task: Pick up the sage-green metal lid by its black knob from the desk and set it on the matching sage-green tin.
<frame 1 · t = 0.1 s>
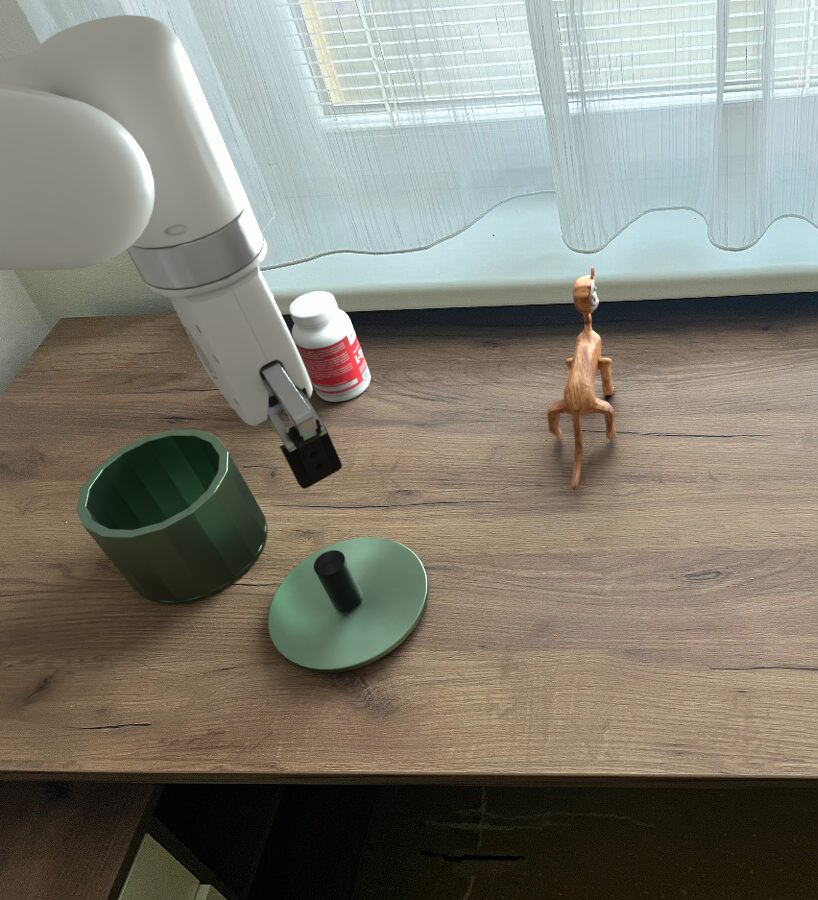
hand: (293, 442, 65), 17 cm above the table, tool pointing down, fingers open, 9 cm apart
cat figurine: (587, 433, 88), on the table
pill bottle: (345, 387, 97), on the table
tin lid: (350, 602, 75), point 1 cm above the table
tin: (200, 549, 82), on the table
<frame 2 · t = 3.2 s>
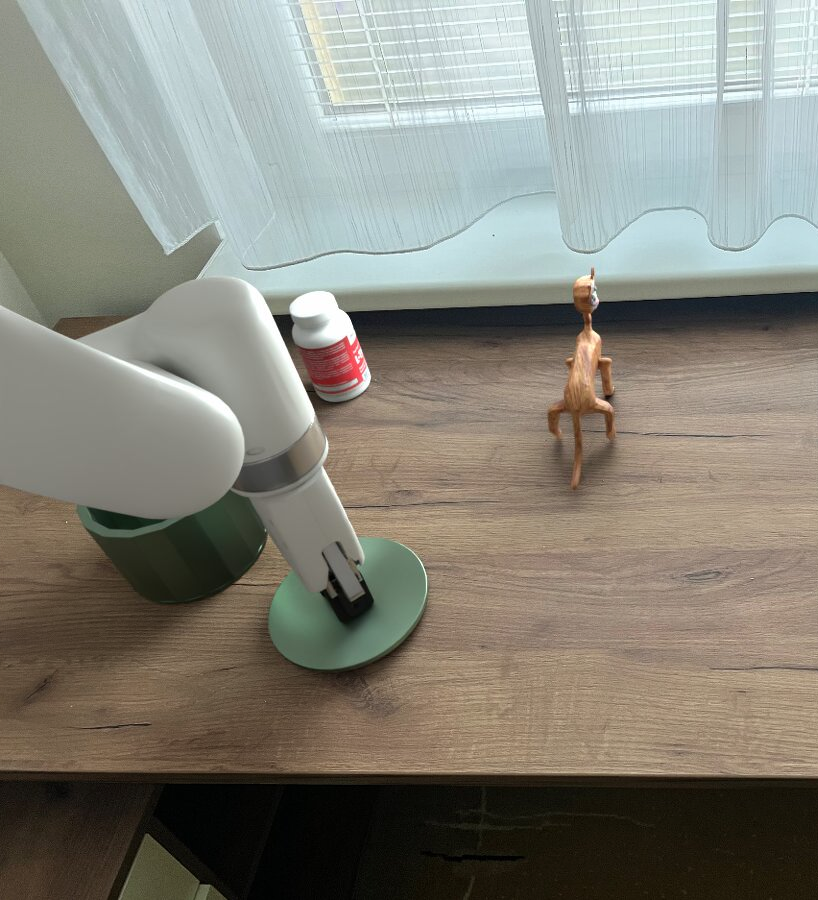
hand: (347, 597, 74), 1 cm above the table, tool pointing down, fingers closed on tin lid, 2 cm apart
tin lid: (350, 602, 75), point 1 cm above the table, touching gripper
everything else where it was.
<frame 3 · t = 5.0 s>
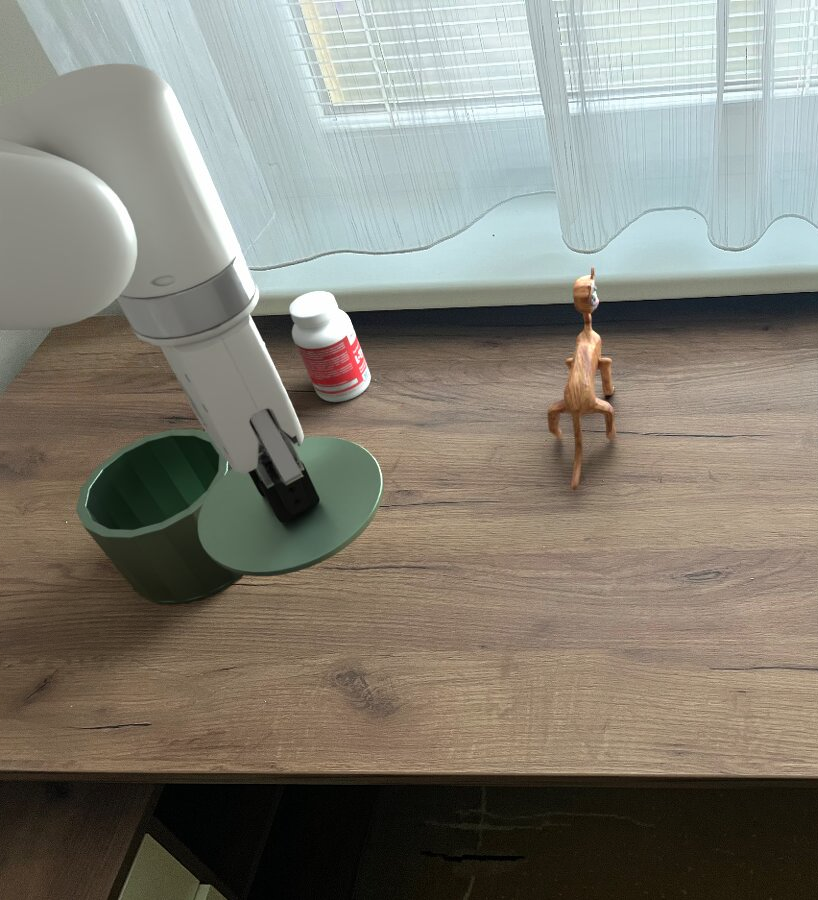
hand: (289, 496, 65), 15 cm above the table, tool pointing down, fingers closed on tin lid, 2 cm apart
tin lid: (293, 504, 65), point 14 cm above the table, touching gripper
everything else where it was.
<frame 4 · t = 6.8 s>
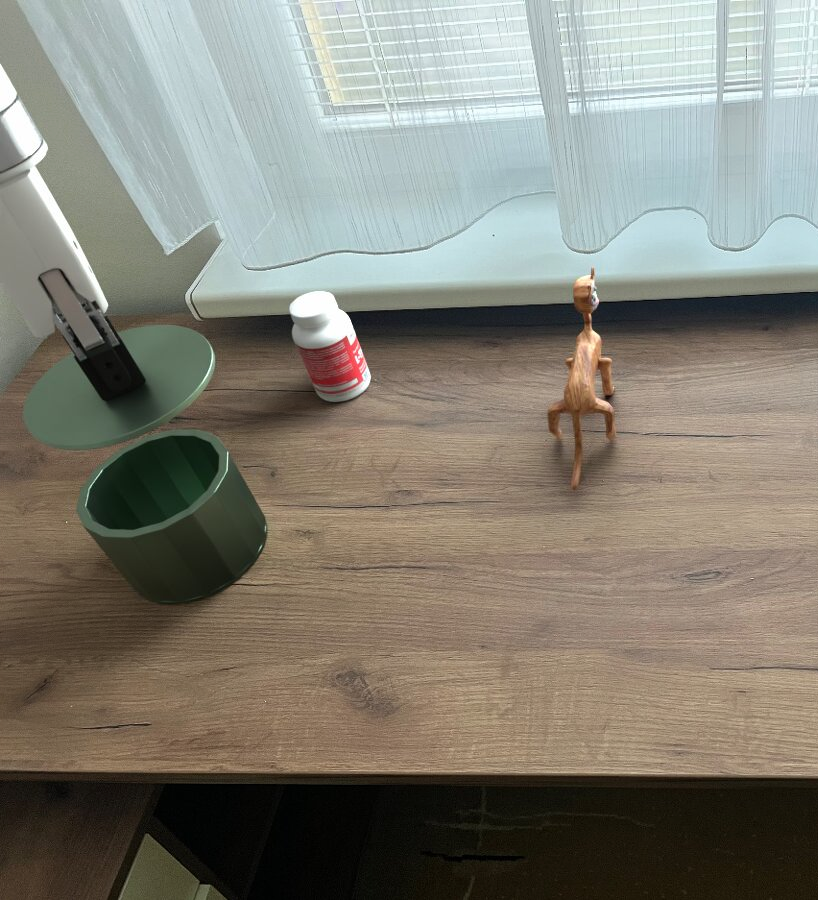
hand: (117, 378, 65), 22 cm above the table, tool pointing down, fingers closed on tin lid, 2 cm apart
tin lid: (123, 386, 65), point 21 cm above the table, touching gripper
everything else where it was.
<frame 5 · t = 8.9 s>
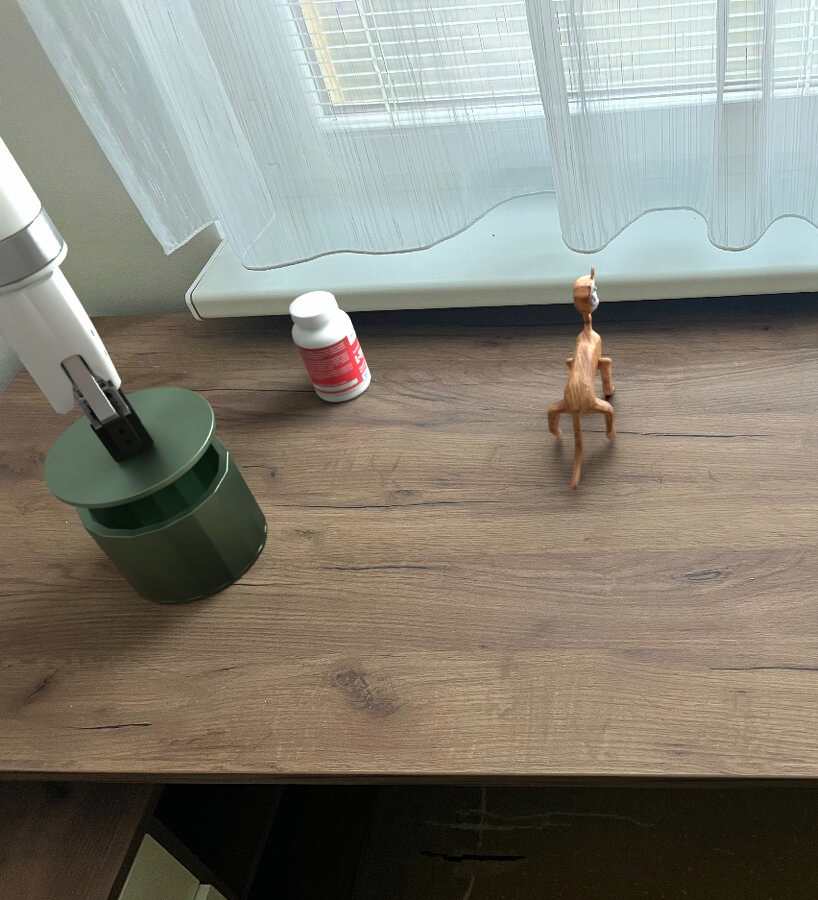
hand: (128, 440, 72), 14 cm above the table, tool pointing down, fingers closed on tin lid, 2 cm apart
tin lid: (133, 446, 72), point 13 cm above the table, touching gripper
everything else where it was.
when the fingers open (10 cm above the table, at t = 10.2 s): tin lid stays where it is, resting on tin.
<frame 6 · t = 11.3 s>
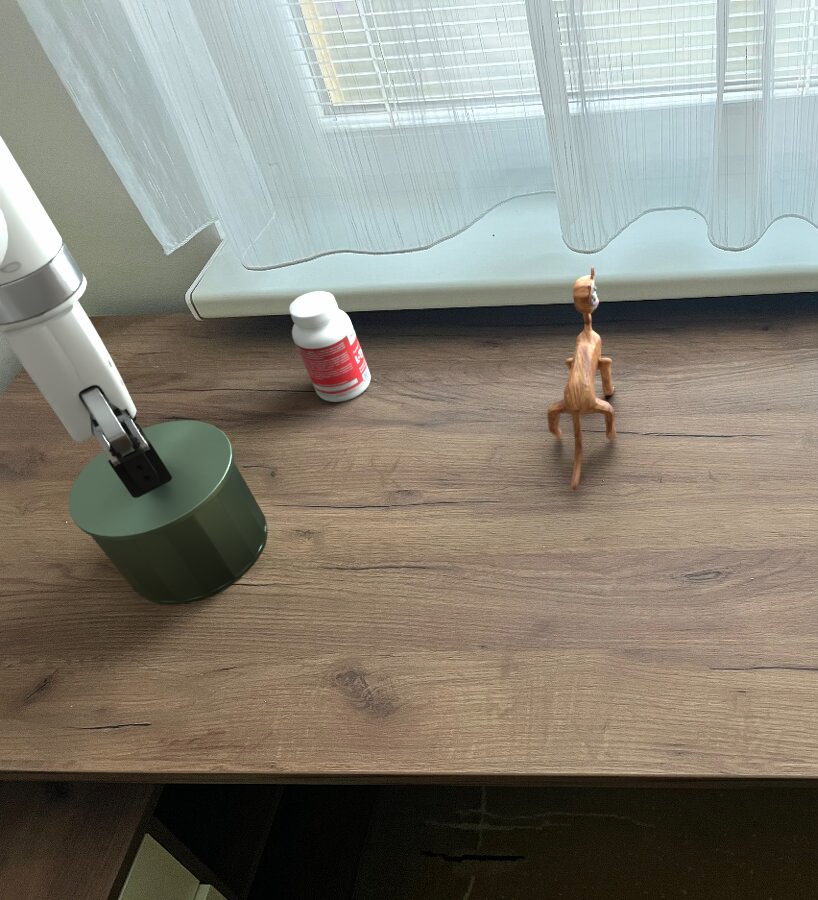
hand: (135, 456, 73), 13 cm above the table, tool pointing down, fingers open, 9 cm apart
tin lid: (154, 479, 75), point 9 cm above the table, touching tin
everything else where it was.
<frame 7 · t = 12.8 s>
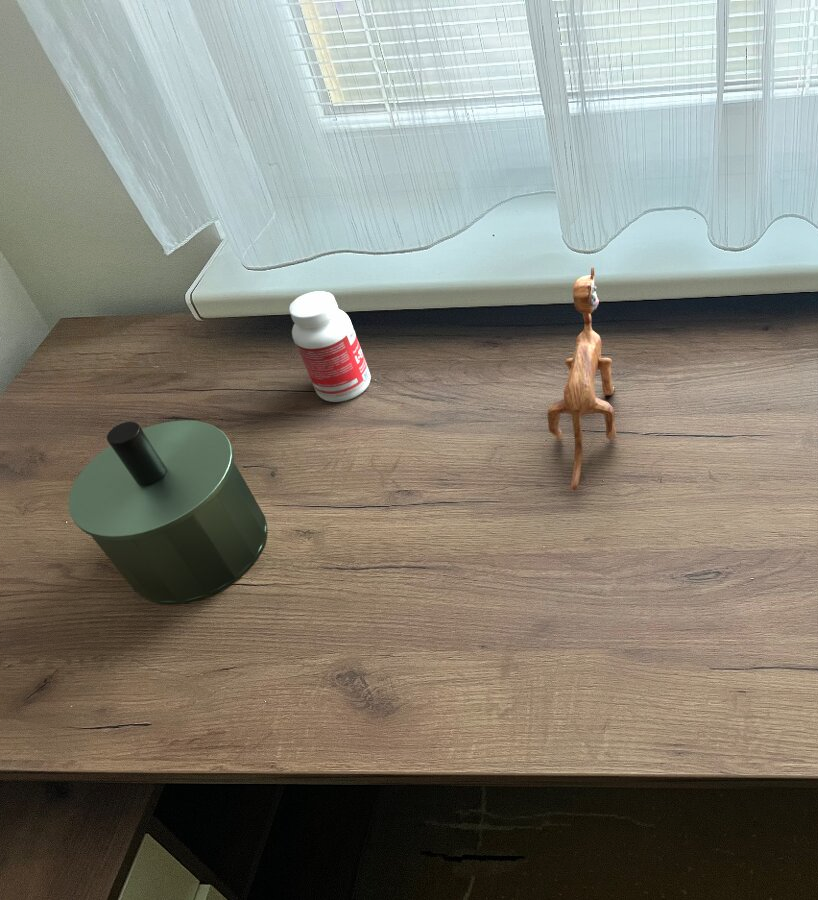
nothing on the table moved.
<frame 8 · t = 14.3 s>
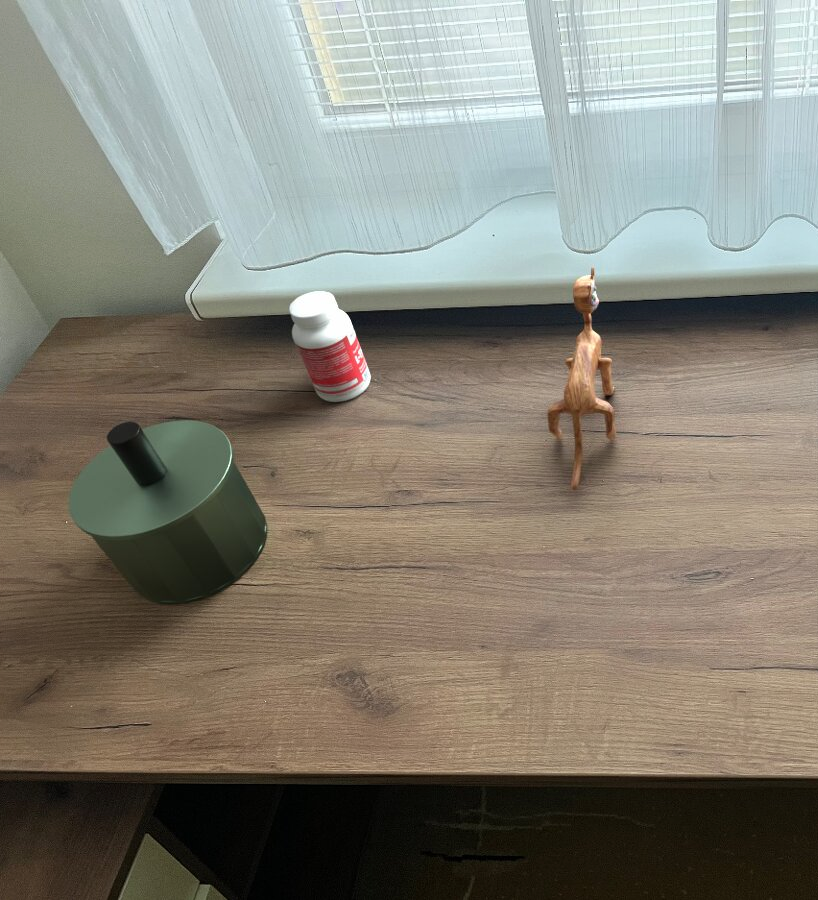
nothing on the table moved.
at the end: tin lid 0.1 cm off-centre on the tin, point 9.5 cm above the tin's base; tin lid tilted 0° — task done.
